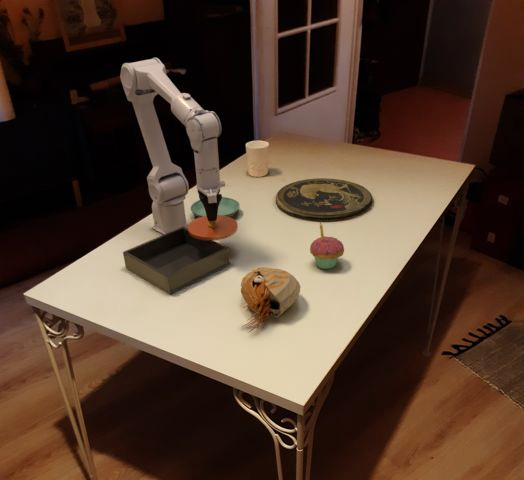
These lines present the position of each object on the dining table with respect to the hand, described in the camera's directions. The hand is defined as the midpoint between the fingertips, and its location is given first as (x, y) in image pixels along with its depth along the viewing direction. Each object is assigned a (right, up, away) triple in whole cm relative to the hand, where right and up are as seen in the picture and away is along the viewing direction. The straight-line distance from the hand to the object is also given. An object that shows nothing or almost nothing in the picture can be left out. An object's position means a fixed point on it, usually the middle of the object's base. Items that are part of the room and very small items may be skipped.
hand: (211, 218), depth 145 cm
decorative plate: (+32, +13, +31) cm, 46 cm away
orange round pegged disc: (0, -2, +2) cm, 3 cm away
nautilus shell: (+13, -25, -16) cm, 32 cm away
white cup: (+12, +27, +51) cm, 59 cm away
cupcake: (+29, -12, 0) cm, 32 cm away
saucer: (-1, +7, +25) cm, 26 cm away
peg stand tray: (-9, -12, +1) cm, 15 cm away
